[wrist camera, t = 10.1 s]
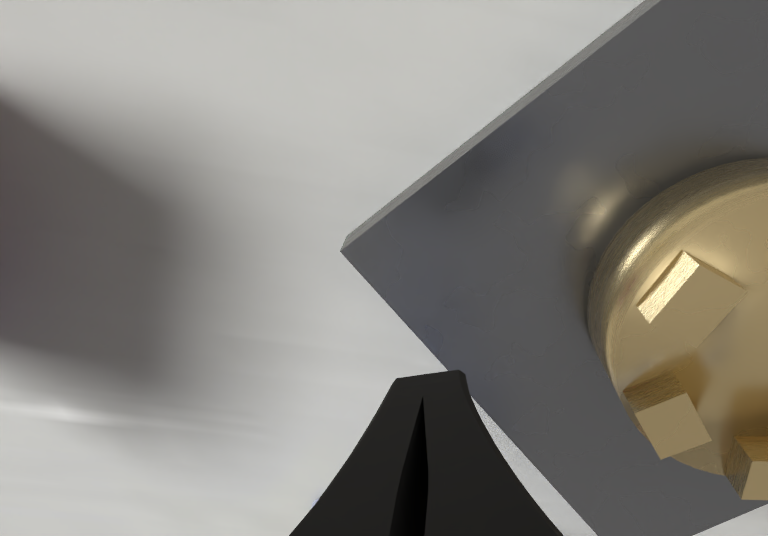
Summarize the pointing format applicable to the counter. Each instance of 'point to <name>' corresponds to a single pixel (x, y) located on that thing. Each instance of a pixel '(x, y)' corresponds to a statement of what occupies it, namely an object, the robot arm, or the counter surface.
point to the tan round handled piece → (693, 322)
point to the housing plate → (574, 247)
